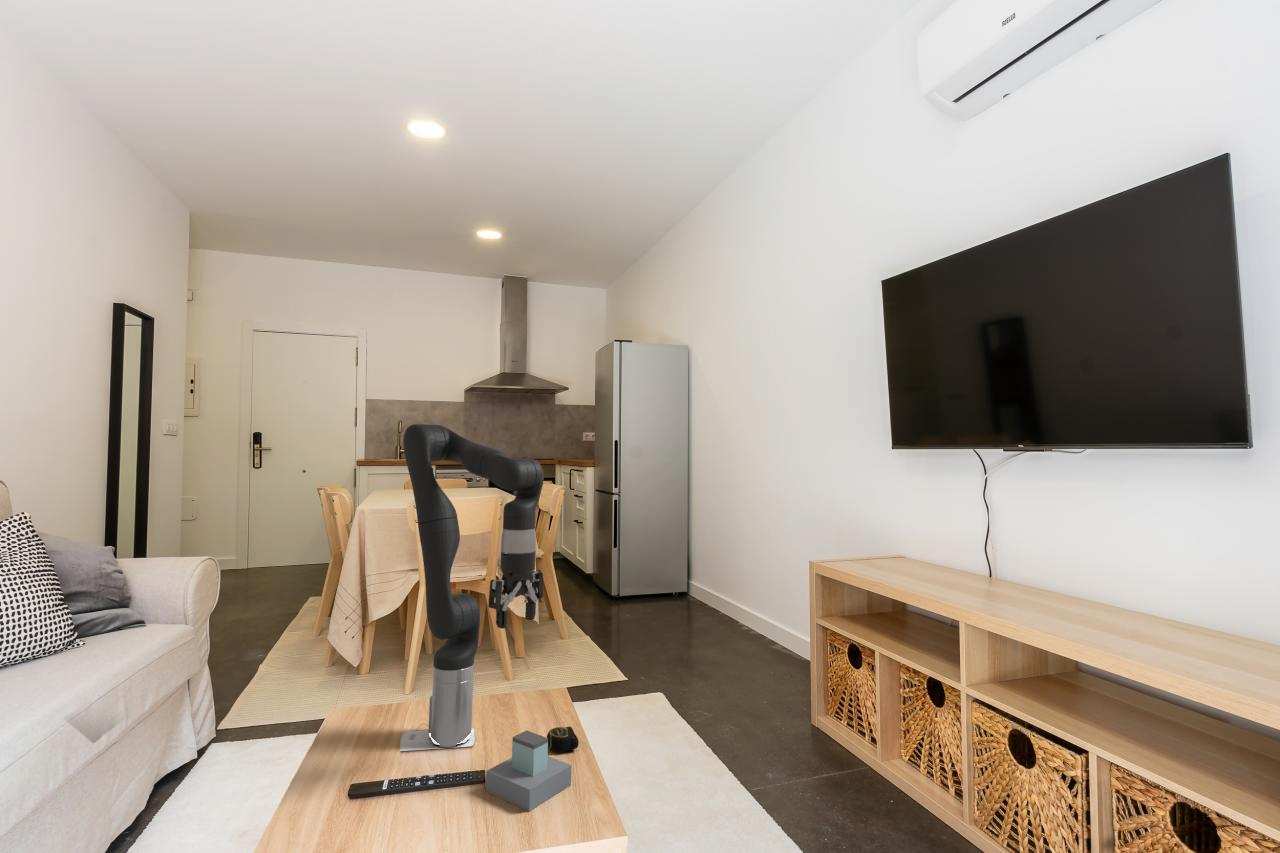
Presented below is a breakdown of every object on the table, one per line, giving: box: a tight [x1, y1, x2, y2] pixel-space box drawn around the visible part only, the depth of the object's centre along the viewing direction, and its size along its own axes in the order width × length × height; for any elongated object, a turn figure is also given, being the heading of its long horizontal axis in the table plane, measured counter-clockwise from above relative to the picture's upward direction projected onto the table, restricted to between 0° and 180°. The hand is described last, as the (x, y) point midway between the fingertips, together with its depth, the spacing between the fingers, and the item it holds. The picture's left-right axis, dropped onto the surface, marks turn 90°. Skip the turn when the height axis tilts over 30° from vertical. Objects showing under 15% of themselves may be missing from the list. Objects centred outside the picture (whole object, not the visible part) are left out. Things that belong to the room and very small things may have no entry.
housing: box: [511, 730, 549, 776], centre depth 128 cm, size 6×4×6 cm, turn 55°
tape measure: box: [546, 726, 580, 753], centre depth 146 cm, size 7×7×4 cm
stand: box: [485, 755, 572, 812], centre depth 128 cm, size 12×12×4 cm
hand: (516, 623), depth 139 cm, fingers open, 8 cm apart
